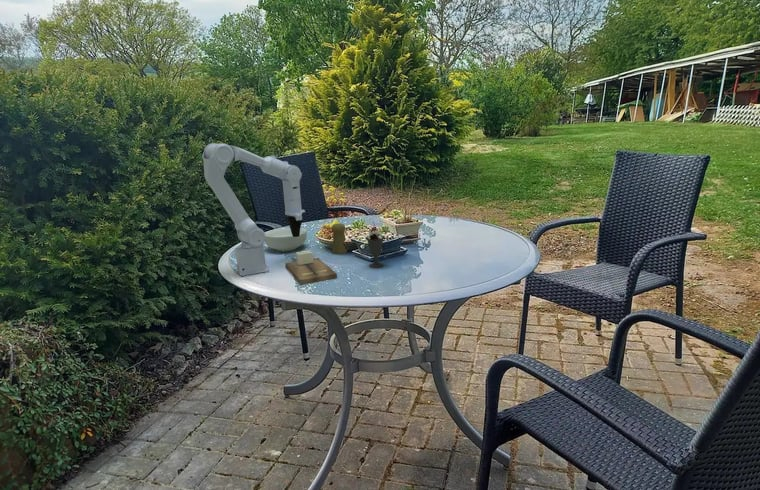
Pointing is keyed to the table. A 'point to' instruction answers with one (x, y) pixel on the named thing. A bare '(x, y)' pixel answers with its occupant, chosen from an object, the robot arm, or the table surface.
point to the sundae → (375, 246)
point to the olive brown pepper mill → (338, 239)
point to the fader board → (311, 271)
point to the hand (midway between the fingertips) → (296, 236)
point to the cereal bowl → (284, 239)
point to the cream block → (304, 257)
